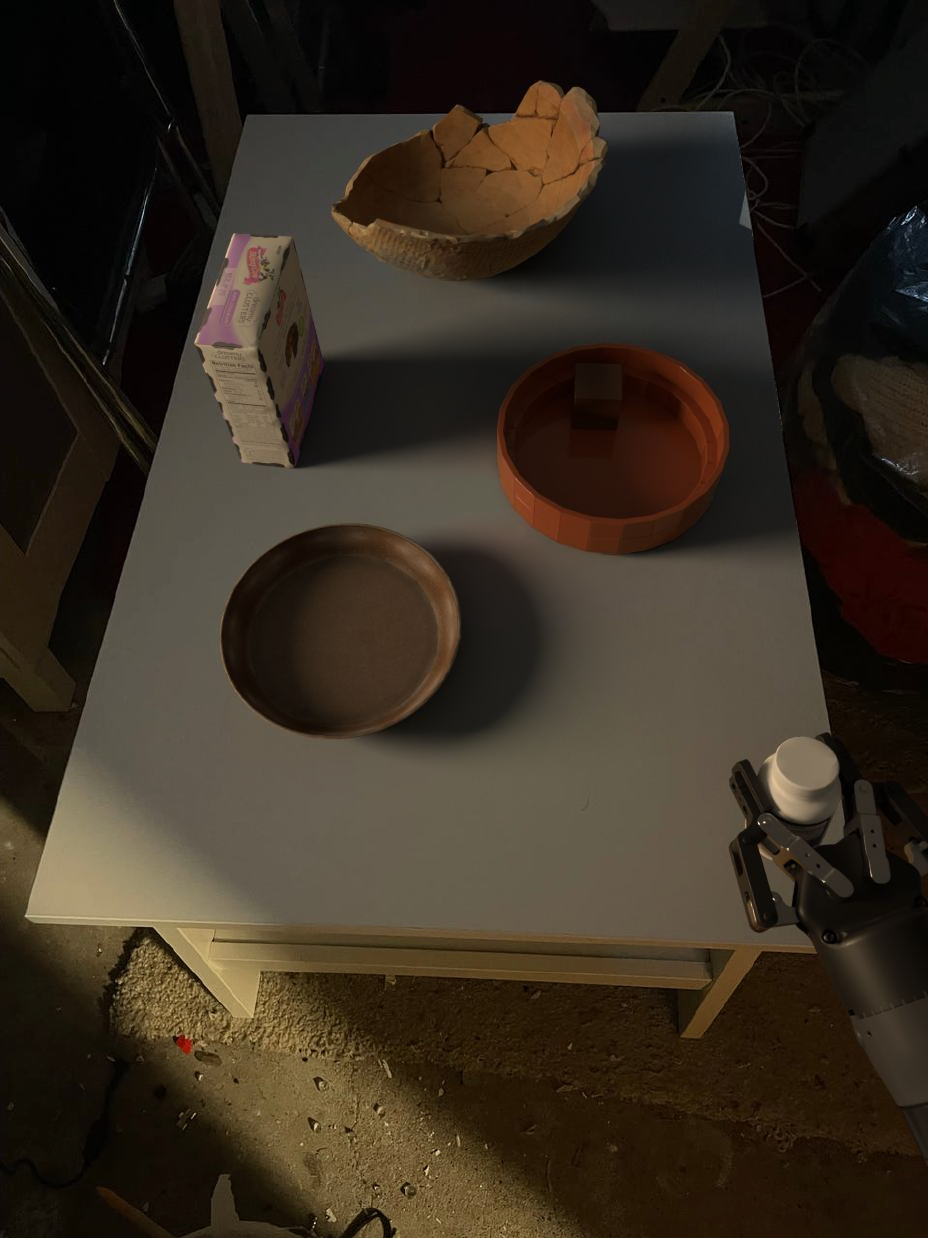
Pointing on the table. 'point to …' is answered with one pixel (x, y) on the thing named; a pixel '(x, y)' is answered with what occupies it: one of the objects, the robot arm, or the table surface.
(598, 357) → the bowl
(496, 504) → the table surface
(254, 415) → the candy box
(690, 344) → the table surface
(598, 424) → the block
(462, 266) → the ceramic bowl
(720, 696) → the table surface
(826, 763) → the pill bottle
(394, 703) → the plant saucer
